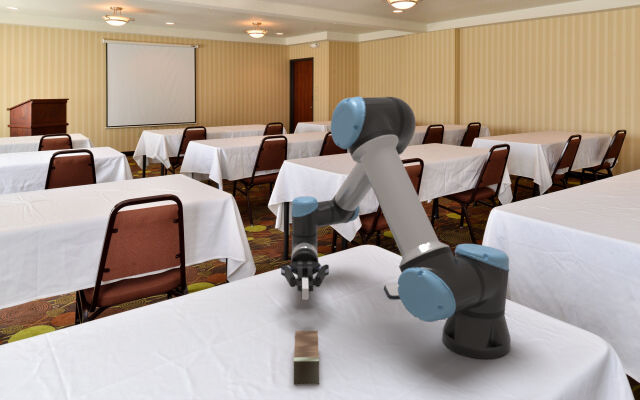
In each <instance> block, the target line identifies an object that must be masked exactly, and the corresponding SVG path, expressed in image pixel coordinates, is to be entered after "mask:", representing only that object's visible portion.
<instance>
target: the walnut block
mask: <svg viewBox="0 0 640 400" xmlns="http://www.w3.org/2000/svg"><path fill="white" fill-rule="evenodd" d="M293 349H294V350H293V352H294V354H293V385H319V384H320V353H319V352H320V351H319V333H318V330H295V331H294V348H293Z"/></svg>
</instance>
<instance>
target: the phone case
mask: <svg viewBox="0 0 640 400" xmlns="http://www.w3.org/2000/svg"><path fill="white" fill-rule="evenodd" d="M398 287H399V285H398V283H397V284H386V285H384V286H383V291H384V292H385V294H386V296H387V299H390V300H401V299H400V297H399V294H398Z"/></svg>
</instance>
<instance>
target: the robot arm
mask: <svg viewBox="0 0 640 400" xmlns="http://www.w3.org/2000/svg"><path fill="white" fill-rule="evenodd" d="M335 106H336V107H335V108H334V110H333V113H332V115H331V116H332V117H331V122H330V133H331V137H332V140H333V142H334V144H335V145H336V146H337V147H339V148H341V149H343V150H348V151H349V154H350V155H351V158H352V160H353V161H354V162H356V164H355V165H354V166H353V168H352V169H351V171H350V172H349V173H348V175H347V177H346V178H345V180H344V182H343V183H341V184H342V185H340V187H339V189H338V191H337V192H336V194H335V195H334V196H333V198H331V200H330V199H329V200H325V201H318V199H317V198H316V197H314V196H306V195H305V196H297V197H294V199H292V202H291V230H292V231H291V260H290V263H289V265H286V264H281V265H280V275H281V276H283V277H284V278H285V279H286V281H287V283H288V285H289V287H291V288H294V287H297V292H301V295H302V298H301V299H302V300H309V298H310V297H309V296H310V295H309V293H310V292H313V291H314V287H316V288H320V287H321V285H322V283H323V281H324V279H325V278H326V276H328V275H329V272H330V264H324V265H321V263H319V254H318V228H323V227H327V226H328V227H329V226H334V225H338V224H347V223H350V222H354V221H355V220H356V219H358V217H359V213H360V204H361V202H362V201H363V200H364V199H365V197H366V196H367V194H369V191H370V190H371V189H372V191H373V193H374V195H375V197H376V200H377V202H378V205H379V206H380V208H381V212H382V213H383V216H384V218H385V221H386V223H387V224H388V227H389V229H390V232H391V234H392V236H393V238H394V241H395V243H396V245H397V248H398V250H399V252H400V255H401V257H402V258H401V261H400V263H399V266H398V267H399V270H400V272H401V274H400V275H399V277H398V279H397V284H398V285H399V287H398V294H399V297H400V299H399V300H400V302H401V303H402V305H403V306H404V308H405V309H406V311H408V312H409V314H411V316H413V317H414V318H417V319H418V320H420V321H422V322H426V323H433V322H437V321H442V320H446V321H445V324H444V325H443V328H442V334H441V335H442V336H441V337H442V342H443V344H444V345H445V346H446V347H447V348H448V349H450V350H451V351H453V352H454V353H456V354H459V355H461V356H465V357H467V358H468V357H469V358H473V359H483V360H491V359H498V358H500V357H504V356H506V355H507V354H509V352H510V350H511V335H510V332H509V328H508V327H509V326H508V324H507V319H506V316H505V314H506V305H507V304H506V303H507V293H508V291H507V290H508V281H509V272H510V257H509V256H508V255H507V253H506V252H504V251H503V250H500V249H498V248H495V247H492V246H488V245H482V244H475V243H461V244H460V243H459V244H457V245H456V246H455V250H454V253H453V251H452V249H451V247H450V246H449V245H448V244H446V243H443V242H441V241H440V240H439V239H438V236H437V234H436V232H435V230H434V228H433V226H432V223H431V221H430V219H429V217H428V215H427V213H426V210H425V208H424V207H423V204H422V202H421V200H420V197H419V195H418V193H417V191H416V188H415V187H414V185H413V182H412V179H410V176H409V173H408V171H407V170H406V168H405V166H404V163H403V161H402V158H401V157H400V155H401V154H403V153H404V151H405V150H406V149H407V147H408V146H409V144H410V143H411V141H412V139H413V137H414V134H415V132H416V125H417V122H416V121H417V120H416V116H415V113H414V111H413V109H412V107H411V106H410V105H409V104H408V103H407V102H406V101H405V100H403V99H401V98H400V97H394V96H383V97H382V96H381V97H376V96H374V97H361V96H359V95H358V96H355V97H346V98H344V99H342V100H341V101H340V102H338V103H337V104H336V105H335ZM295 275H296V276H297V277H296V276H295ZM314 275H315V276H314Z"/></svg>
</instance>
